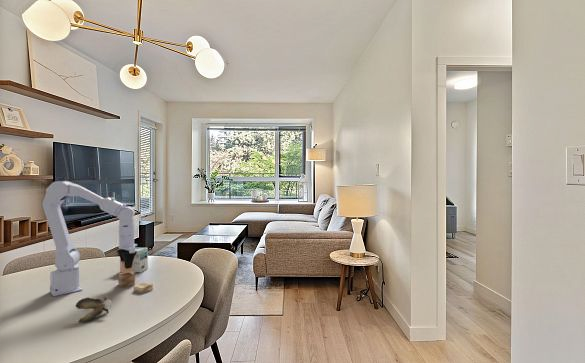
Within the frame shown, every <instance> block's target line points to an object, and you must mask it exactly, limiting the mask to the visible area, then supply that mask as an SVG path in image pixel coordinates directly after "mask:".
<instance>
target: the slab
mask: <svg viewBox="0 0 585 363" xmlns="http://www.w3.org/2000/svg"><path fill="white" fill-rule="evenodd" d="M153 290H154V284H153V283H149V282H146V281H144V282H141V283H138V284H135V285H133V292H135V293H138V294H144V293H147V292H150V291H153Z"/></svg>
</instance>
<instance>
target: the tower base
mask: <svg viewBox="0 0 585 363" xmlns="http://www.w3.org/2000/svg"><path fill="white" fill-rule="evenodd" d="M135 282H136V279H135V280H131V281H126V282H121V281H120V280H119V278H118V282H117V283H118V284H119V285H120V286H119V285H118V286H119V287H120V288H122V287H123V288H127V287H131V286H130V285H132V286H135V285H136V283H135ZM126 286H127V287H126Z"/></svg>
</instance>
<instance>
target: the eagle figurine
mask: <svg viewBox="0 0 585 363" xmlns="http://www.w3.org/2000/svg"><path fill="white" fill-rule="evenodd" d="M103 298H104V299H103V300H104V302H103V300H102V299H100V298H94V297H92V298H91V297H85V298H81V299H79V300H78V301H77V302H76V304H75V305H74V307H75V308H77V309H78V310H89V309H90V310H91V309H93V310H91V311H90V312H88V313H87V314H85V316H83V317H81V318H79V320H78V321H77V322H78V324H83V323H88V322H89V321H91V320H92V319H94V318H96V317H97V316H101V314H102V313H103V311H105V312H106V313H107V314H109V310H110V308H111V307H112V303H113V302H112V300H110V299H108V298H107V297H106V296H104V297H103Z"/></svg>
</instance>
